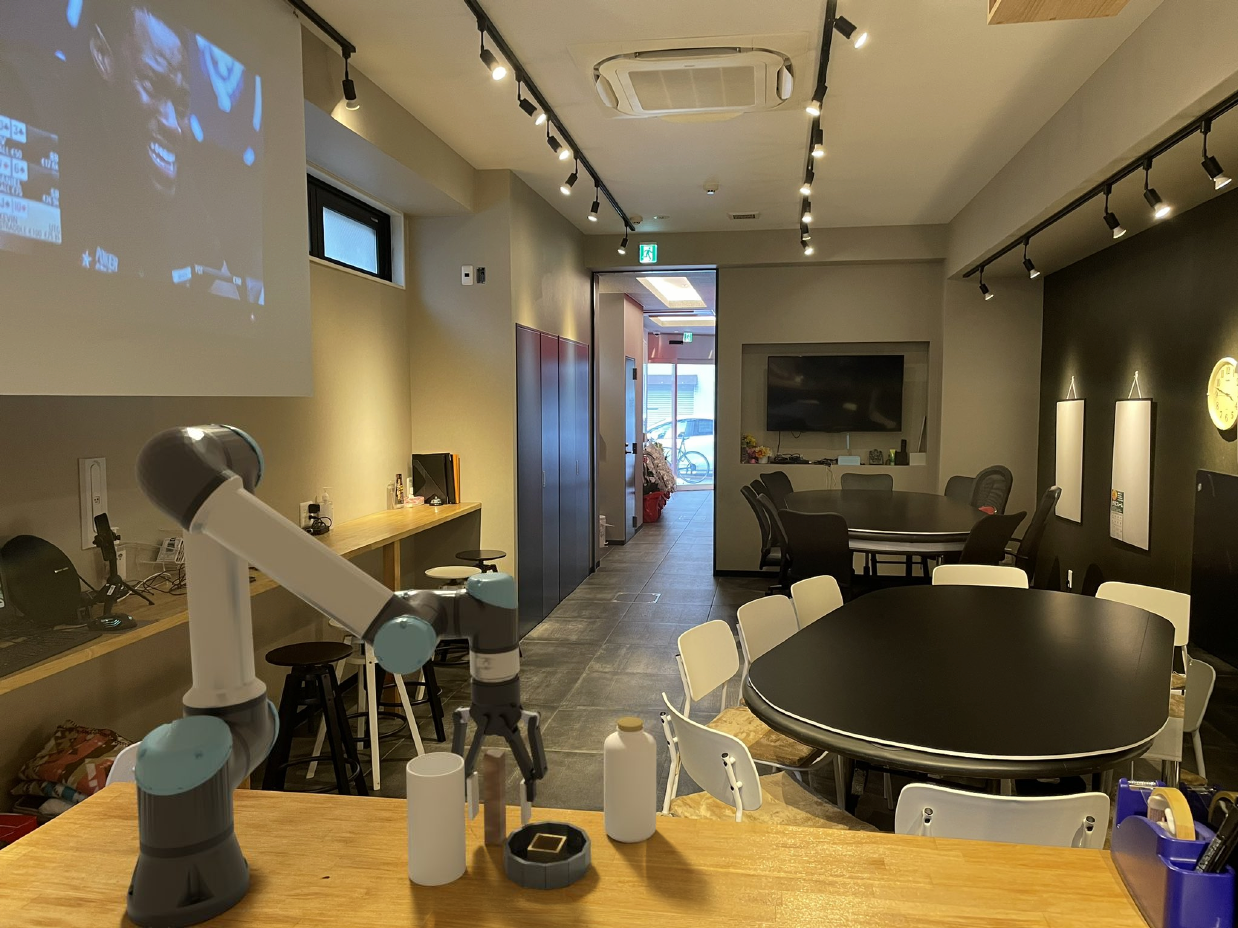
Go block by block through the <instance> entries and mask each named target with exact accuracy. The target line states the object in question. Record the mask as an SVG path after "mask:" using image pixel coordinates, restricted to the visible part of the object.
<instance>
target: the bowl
mask: <svg viewBox="0 0 1238 928" xmlns="http://www.w3.org/2000/svg"><path fill="white" fill-rule="evenodd" d="M591 843H592V840H591V839H590V837H589V835H588V833H587V832H586V830H585V829H583V828H581V827H579V826H578V825H575V824H573V823H570V822H563V821H558V820H557V821H555V820H545V821H539V822H538V821H537V822H532V823H531V822H530V823H527V824H526V825H521V826H520V827H519V828H516V829H514V830H513V831H510V833H509V834H508V836H506V838H505V840H504V841H503V868H504V872H505V874H506V877H507V879H508V880H510V881H511V882H514V883H516V884H517V885H519V886H520V887H522V888H524V889H526V888H527V889H532V890H533V889H534V890H542V891H549V890H555V889H560V888H566V887H569V886H572V885H574V884H575V883H576V882H578V881H580V880H581V879H583V878H585V877H586V876H587V874H588V872H589V869H590V867H591V864H592V853H591V852H592V849H591V847H592V844H591Z"/></svg>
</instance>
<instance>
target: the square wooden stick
mask: <svg viewBox="0 0 1238 928" xmlns="http://www.w3.org/2000/svg"><path fill="white" fill-rule="evenodd" d="M482 763H483V766H482V767H483V769H482V771H483V823H484V824H483V830H484V831H483V834H484V835H483V836H484V837H483V838H484V840H483V841H484V842H483V843H484V845H492V846H499V847H500V846H502V844H504V842H505V840H506V839H507V802H506V801H507V796H506V795H507V794H506V792H507V791H506V790H507V788H506V787H507V785H506V783H507V782H506V780H507V779H506V750H503V749H502V750H501V749H493V748H492V749H491V748H490V749H488V750H487V751H486V753H484V755H483V762H482Z"/></svg>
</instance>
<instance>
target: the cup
mask: <svg viewBox="0 0 1238 928" xmlns="http://www.w3.org/2000/svg"><path fill="white" fill-rule="evenodd" d="M464 762H465V760H464V757H463V758H462V757H461V756H459V755H456V754H453V753H451V752H445V751H444V752H441V751H440V752H439V751H438V752H437V751H436V752H430V753H424V754H421V755H418V756H417V757H414V758H412V759H411V760H409V761H408V762H407V764H406V773H405V775H406V815H407V816H406V817H407V818H406V819H407V821H406V822H407V860H408V861H407V863H408V864H407V865H408V866H407V868H408V869H407V870H408V873H407V874H408V877H409V879H410V880H411V881H412V882H413V883H415V884H418V885H421V886H427V887H437V886H442V885H447V884H449V883H452V882H455V881H457V880H458V879H459V878H461V876H463V874H464V873H465V872H466V869H467V856H466V855H467V854H466V853H467V852H466V850H467V845H466V844H467V843H466V839H467V838H466V797H465V770H464Z"/></svg>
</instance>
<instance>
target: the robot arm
mask: <svg viewBox="0 0 1238 928" xmlns="http://www.w3.org/2000/svg"><path fill="white" fill-rule="evenodd" d="M134 467H135V468H134V475H135V481H136V484H137V487H138V489H139V490H140V492H141V493H142V495H143V497H145V499H146V500H147V502H148V503H149V504H150V505H152V507H153V508H155V509H156V510H157V511H159V512H160V513H161V514H162V515H164V516H165V517H167V519H169V520H171V521H172V522H173V523H175V524H176V525H178V526H179V527H180V528H181V529H182V537H183V539H182V540H183V552H184V567H185V568H184V569H185V580H186V581H185V582H186V583H185V584H186V597H187V610H188V611H187V612H188V613H187V614H188V626H189V641H190V643H189V644H190V655H191V656H190V657H191V671H192V686H191V687H190V689H189V690H188V691H186V693H185V694H184V695H183V696H182V709H183V711H182V713H183V714H182V715H183V717H181V718H177V719H173V720H172V722H171V723H163V724H162V725H160V726H158V727H156V728H154V729H153V730H151V731H150V732H149V733H147V734H146V736H145V737H144V738H142V740H141V741H140V743H139V745H138V746H137V749H136V754H135V755H136V756H135V765H134V780H135V789H136V803H137V805H136V806H137V823H138V824H137V825H138V843H139V844H138V845H139V853H138V857H137V859H136V864H135V865H134V866H135V867H134V870H133V874H132V876H131V878H130V879H131V880H130V884H129V886H128V890H127V893H126V910H127V911H126V913H127V917H128V918H129V919H130V921H131V922H132V923H134V924H135V925H138V926H140V927H143V928H182V927H183V928H184V927H187V926H191V925H195V924H198V923H202V922H204V921H208V920H210V919H212V918H214V917H217V916H218V915H220V914H223V913H224V912H226V911H228V910H229V909H231V908H232V907H233V906H235V905H236V904H237V903H239V902H240V901H241V899H243V898H244V896H245V895H246V894H247V892H248V890H249V888H250V885H251V884H250V883H251V881H250V880H251V879H250V877H251V876H250V867H249V863H248V861H247V859H246V858H245V857H244V854H243V851H242V849H241V846H240V843H239V841H238V838H237V836H236V833H235V819H234V818H235V815H234V792H235V791H236V790H237V789H238V787H239V786H240V785H241V784H242V783H243V782H244V781H245V780H246V778H248V777H249V775H250V774H251V773H253V771H254V770H255V769H256V768H257V767H258V766H260V764H262V763H263V761H265V759H266V758H267V757H268V756H269V754H270V752H271V750H272V749H273V747H274V745H275V743H276V740H277V738H278V735H279V729H280V718H279V714H278V711H277V708H276V707H275V706H276V705H275V704H274V703H273V701H270V700H269V698H268V694H267V685H266V683H265V682H264V681H262V680H261V679H259V678H258V677H257V676H256V672H255V671H256V668H255V656H254V655H255V653H254V639H253V622H252V620H253V619H252V604H251V603H252V602H251V589H250V587H251V586H250V576H249V575H250V573H249V564H250V565H251V566H252V567H254V568H256V569H257V570H258V571H260V572H261V573H263V575H265V576H267V577H269V578H270V579H271V580H273V581H275V582H276V583H278V584H279V585H281V586H282V587H283V588H285V589H286V590H288V591H290V592H291V593H292V594H294V595H295V596H297V597H298V598H299V599H301V600H303V601H304V602H306V603H307V604H308V605H310V606H311V607H313V608H315V609H316V610H317V611H318V612H320V613H322V614H323V615H325V616H326V617H327V618H329V619H330V620H332V621H334V622H335V623H337V624H338V625H339V626H341V627H342V628H344V629H345V630H347V631H348V632H350V633H352V635H354V636H356V638H359V639H360V640H361V641H363V642H365V644H367V645H368V646H370V647H371V648H372V649H373V655H374V657H375V660H376V661H377V663H378V664H379V665H380V666H381V668H382V669H384V670H385V671H386V672H389V673H391V674H395V675H408V674H412V673H414V672H416V671H417V670H420V669H421V668H422V667H423V665H425V664H426V663H427V661H430V659H432V656H433V655H434V654H435V650H436V647H438V644H439V643H440V642H441V640H455V639H456V640H460V639H461V640H462V639H468V643H469V644H468V645H469V666H470V667H469V671H470V675H471V678H470V699H471V704H470V706H469V707H465V706H463V705H461V706H459V707H458V708H457V709H455V710H454V711H453V712H452V713H451V716H452V721H453V722H452V723H453V726H454V728H453V734H452V735H453V736H452V743H451V749H450V753H453V754H456V755H459V756H461V757H462V758H463V759H464V753H465V744H466V738H467V731H468V721H469V720H470V718H471V720H473V722H474V723H475V724H476V726H477V727H476V730H475V732H474V734H473V739H472V742H471V745H470V747H469V750H468V752H467V755H466V757H465V760H464V770H465V798H467V799H466V800H467V801H466V802H467V819H468V820H467V821H474V820H475V818H476V817H477V816H478V814H479V813H480V800H479V799H480V795H479V794H480V792H479V772H478V771H473V770H474V769H475V766H476V763H477V759H478V757H479V755H480V753H481V750H482V747H483V745H484V742H485V739H486V737H487V736H488V737H490V736H497V737H500V738H501V737H502V738H504V740H505V742H506V744H508V745H509V748H510V750H511V752H512V755H513V757H514V759H515V761H516V764H517V765H518V768H519V770H520V773H521V774H522V777H523V778H522V780H521V781H520V783H519V794H520V824H521V826H524V825H526V824H529V821H530V820H531V818H532V803H534V801H535V799H536V798H537V780H538V781H541V780H543V779H544V778H545V776H546V774H547V773H548V771H549V768H548V763H547V758H546V753H545V746H544V742H543V741H544V740H543V737H542V732H541V727H540V725H541V718H542V713H541V711H539V710H534V712H532V711H527V710H525V709H524V708H523V705H522V703H521V676H520V674H518V673H519V671H520V670H521V667H520V645H519V644H520V643H519V637H520V636H519V602H518V592H517V582H516V580H515V578H514V576H512V575H511V574H508V573H507V572H506V573H505V572H494V571H493V572H491V571H490V572H486V573H485V572H484V573H476V574H473V575H471V576H469V577H468V579H467V581H466V587H464V588H455V589H454V588H449V589H445V588H443V589H442V588H441V589H440V588H439V589H415V588H411V589H408V590H407V589H406V590H398V591H397V590H396V591H392V590H391V589H389V588H388V587H386V586H385V585H384V584H382V582H379V581H378V580H376V579H375V578H373V577H372V576H371V575H370V574H368V573H367V572H366V571H364V570H362V569H361V568H359V567H358V566H356V565H355V564H353V563H352V562H351V561H349V560H348V559H346V558H345V557H343V556H342V555H340V554H339V553H338V552H336V551H335V550H333V549H332V548H330V547H329V546H327V545H326V544H324V543H323V542H322V541H320V540H318V538H316V537H314V536H313V535H311V534H310V533H308V532H307V531H306V530H304V529H302V528H301V527H299V526H298V525H297V524H296V523H294V522H293V521H291V520H290V519H289V518H287V517H286V516H284V515H282V514H281V513H280V512H278V511H277V510H275V509H273V508H272V507H271V506H270V505H268V504H266V502H263V501H262V500H260V499H259V498H258V497H257V496H256V491H255V490H256V488H257V487H258V486H259V484H260V482H261V481H262V479H263V476H264V472H265V460H264V455H263V452H262V450H261V448H260V446H259V445H258V443H257V442H256V441H255V439H254V438H253V437H251V435H249V434H248V433H247V432H245V431H244V430H241V429H240V428H237V427H234V426H231V425H224V424H216V423H211V424H210V423H209V424H202V425H201V424H200V425H192V426H175V427H171V428H166V429H164V430H161V431H159V432H157V433H155V434H154V435H153V436H151V437H150V438H149V439H147V441H146V442H145V443H144V444H143V445H142V447H141V449H140V450H139V452H138V454H137V456H136V460H135V464H134ZM521 720H522V721H523V723H524V727H526V729H527V739H528V743H529V748H530V753H531V755H530V753H529V751H528V749H527V746H526V744H525V742H524V740H523V737H522V735H521V729H520V727H519V724H518V723H519V722H520V721H521Z"/></svg>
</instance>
